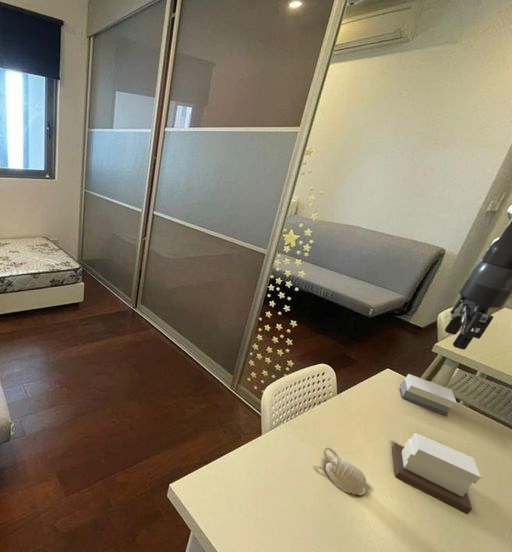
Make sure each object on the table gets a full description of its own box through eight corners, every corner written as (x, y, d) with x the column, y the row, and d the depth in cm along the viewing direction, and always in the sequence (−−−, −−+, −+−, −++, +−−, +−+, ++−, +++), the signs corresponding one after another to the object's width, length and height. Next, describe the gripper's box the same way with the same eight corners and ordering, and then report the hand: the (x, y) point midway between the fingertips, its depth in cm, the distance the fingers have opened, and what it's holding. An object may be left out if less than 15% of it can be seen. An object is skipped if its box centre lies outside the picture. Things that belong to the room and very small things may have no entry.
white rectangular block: (447, 395, 85) (451, 389, 84) (452, 408, 80) (456, 402, 80) (404, 379, 89) (408, 373, 89) (407, 390, 85) (410, 385, 84)
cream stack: (457, 478, 67) (477, 453, 64) (467, 514, 60) (491, 489, 57) (391, 447, 73) (407, 423, 70) (395, 476, 66) (412, 452, 63)
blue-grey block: (440, 407, 86) (448, 396, 85) (444, 419, 82) (452, 408, 81) (396, 389, 91) (403, 379, 89) (398, 400, 87) (405, 389, 85)
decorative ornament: (358, 502, 60) (370, 484, 58) (312, 467, 66) (322, 449, 64) (365, 490, 62) (377, 473, 60) (320, 457, 68) (330, 440, 66)
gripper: (527, 298, 67) (483, 360, 74) (502, 278, 78) (466, 334, 84) (478, 286, 71) (440, 346, 77) (461, 269, 81) (429, 323, 88)
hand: (453, 339), depth 81 cm, fingers open, 8 cm apart
